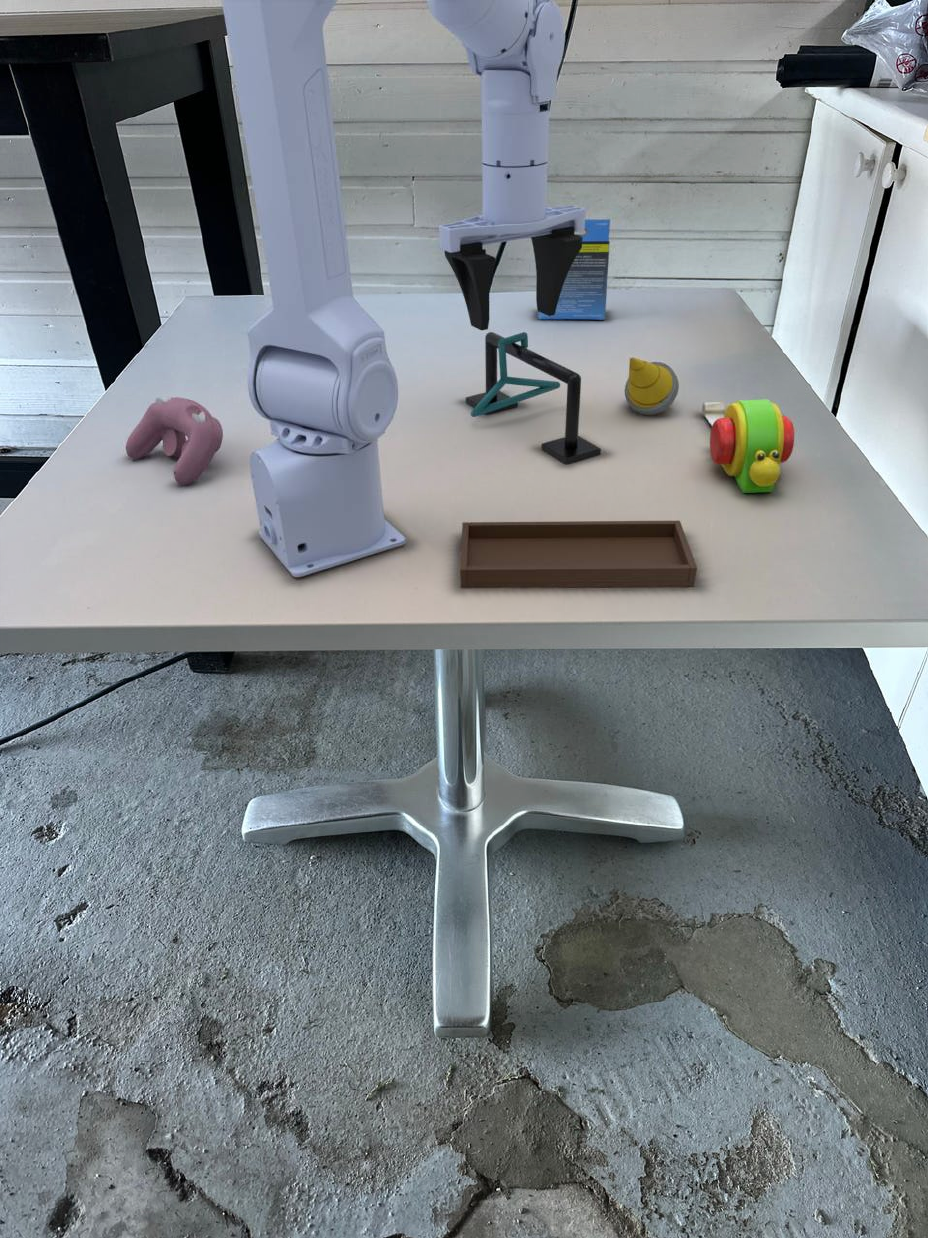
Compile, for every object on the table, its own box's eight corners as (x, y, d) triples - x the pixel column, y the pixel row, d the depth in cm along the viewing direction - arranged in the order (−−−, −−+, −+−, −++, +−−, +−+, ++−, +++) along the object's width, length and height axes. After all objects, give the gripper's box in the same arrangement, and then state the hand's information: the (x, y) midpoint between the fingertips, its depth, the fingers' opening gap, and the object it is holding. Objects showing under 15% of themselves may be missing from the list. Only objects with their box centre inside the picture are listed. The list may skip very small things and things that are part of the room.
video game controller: (220, 491, 82) (237, 416, 80) (177, 486, 78) (193, 408, 77) (162, 461, 88) (177, 390, 86) (119, 455, 84) (134, 381, 82)
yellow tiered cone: (690, 416, 91) (662, 371, 83) (640, 433, 93) (608, 391, 85) (681, 371, 93) (652, 322, 84) (632, 388, 95) (599, 343, 87)
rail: (565, 464, 82) (569, 384, 77) (465, 402, 94) (463, 330, 90) (600, 454, 83) (606, 375, 79) (497, 394, 96) (497, 323, 92)
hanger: (473, 418, 88) (467, 351, 84) (469, 416, 89) (463, 349, 84) (561, 388, 92) (559, 322, 88) (557, 386, 92) (555, 320, 88)
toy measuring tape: (725, 505, 75) (737, 431, 71) (680, 414, 90) (688, 350, 87) (801, 504, 74) (818, 430, 71) (743, 413, 90) (754, 349, 86)
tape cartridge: (604, 311, 119) (611, 212, 112) (605, 321, 116) (612, 219, 109) (538, 311, 120) (540, 212, 113) (536, 320, 117) (539, 219, 110)
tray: (460, 588, 65) (460, 569, 64) (462, 539, 71) (462, 521, 70) (694, 586, 65) (697, 567, 64) (677, 537, 70) (680, 520, 69)
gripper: (556, 148, 83) (551, 297, 91) (419, 164, 77) (426, 322, 85) (603, 157, 78) (593, 314, 86) (460, 176, 72) (464, 342, 80)
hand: (513, 320), depth 85 cm, fingers open, 7 cm apart
